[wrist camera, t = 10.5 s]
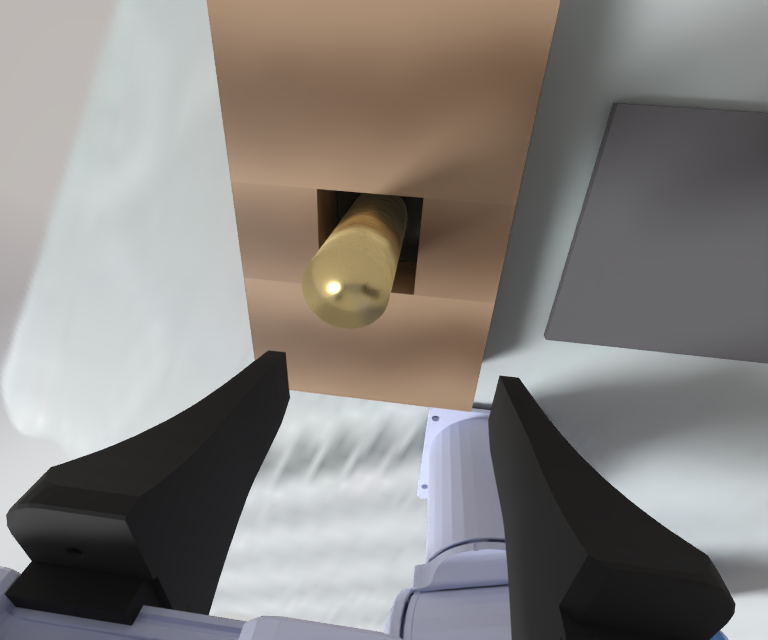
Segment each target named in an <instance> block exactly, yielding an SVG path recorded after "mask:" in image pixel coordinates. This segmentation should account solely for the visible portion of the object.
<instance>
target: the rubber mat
mask: <svg viewBox="0 0 768 640" xmlns="http://www.w3.org/2000/svg"><path fill="white" fill-rule="evenodd" d="M544 336H545V339H546V340H554V341H564V342H573V343H582V344H592V345H601V346H610V347H619V348H629V349H638V350H647V351H657V352H666V353H675V354H685V355H694V356H703V357H713V358H722V359H731V360H740V361H750V362H759V363H768V113H761V112H746V111H730V110H714V109H698V108H682V107H667V106H651V105H635V104H619V103H613V107H612V110H611V113H610V117H609V120H608V123H607V127H606V130H605V133H604V137H603V140H602V143H601V147H600V150H599V153H598V157H597V160H596V163H595V167H594V170H593V173H592V177H591V180H590V183H589V187H588V190H587V193H586V197H585V200H584V203H583V207H582V210H581V213H580V217H579V220H578V223H577V227H576V230H575V233H574V237H573V240H572V243H571V247H570V250H569V253H568V257H567V260H566V263H565V266H564V270H563V273H562V276H561V280H560V283H559V286H558V290H557V293H556V296H555V300H554V303H553V306H552V310H551V313H550V316H549V320H548V323H547V326H546V330H545V333H544Z"/></svg>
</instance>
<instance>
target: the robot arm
mask: <svg viewBox="0 0 768 640" xmlns="http://www.w3.org/2000/svg"><path fill="white" fill-rule="evenodd" d="M289 399H290V393H289V383H288V372H287V361H286V352H279V351H270V350H268V351H267V352H265V353H264V354H263V355H261V356H260V357H259V358H258V359H256V360H255V361H254V362H253V363H251V364H250V365H249V366H247V367H246V368H245V369H244V370H242V371H241V372H240V373H239V374H237V375H236V376H235V377H233V378H232V379H231V380H229V381H228V382H227V383H225V384H224V385H223V386H221V387H220V388H218V389H217V390H215V391H214V392H212V393H211V394H210V395H208V396H207V397H205V398H204V399H202V400H201V401H199V402H198V403H196V404H195V405H193V406H191V407H190V408H188V409H186V410H185V411H183V412H181V413H179V414H178V415H176V416H174V417H172V418H170V419H169V420H167V421H165V422H163V423H161V424H159V425H157V426H155V427H153V428H151V429H149V430H147V431H144V432H142V433H140V434H138V435H136V436H134V437H132V438H129V439H127V440H125V441H122V442H120V443H118V444H115V445H113V446H110V447H108V448H105V449H103V450H100V451H97V452H95V453H92V454H89V455H86V456H83V457H80V458H77V459H75V460H72V461H69V462H66V463H63V464H60V465H57V466H53V467H51V468H50V469H49V470H48V471H47V472H46V473H45V474H44V475H43V476H42V477H41V478H40V479H39V480H38V481H37V482H36V483H35V484H34V485H33V486H32V487H31V488H30V489H29V490H28V491H27V492H26V493H25V494H24V495H23V496H22V497H21V498H20V499H19V500H18V501H17V502H16V503H15V504H14V505H13V506H12V507H11V508H10V510H9V511H8V513H7V515H6V517H7V526H8V528H9V530H10V532H11V534H12V535H13V536H14V538H15V539H16V540H17V542H18V543H19V544H20V545H21V547H22V548H23V550H24V551H25V552H26V554H27V555H28V557H29V558H30V559H31V560H32V562H31V563H30V564H29V565H28V567H27V568H26V569H25V570H24V571H23V572H22V574H20V573H19V572H17V571H15V570H13V569H10V568H6V567H0V640H710V639H711V638H712V637H713V636H714V635H715V634H716V633H717V632H719V631H720V630H721V629H722V628H723V627H724V626H725V625H726V624H727V623H728V622H729V620H730V619H731V618H732V616H733V614H734V612H735V602H734V600H733V598H732V596H731V594H730V593H729V591H728V589H727V587H726V585H725V583H724V581H723V580H722V578H721V576H720V574H719V572H718V571H717V569H716V568H715V566H714V564H713V563H712V561H711V560H710V558H709V557H708V555H706V554H705V553H703V552H702V551H700V550H699V549H697V548H696V547H694V546H693V545H691V544H690V543H688V542H687V541H685V540H683V539H682V538H680V537H679V536H677V535H676V534H674V533H673V532H671V531H670V530H668V529H667V528H666V527H664V526H663V525H661V524H660V523H659V522H657V521H656V520H655V519H653V518H652V517H651V516H649V515H648V514H647V513H645V512H644V511H643V510H641V509H640V508H639V507H637V506H636V505H635V504H634V503H632V502H631V501H630V500H629V499H627V498H626V497H625V496H624V495H623V494H621V493H620V492H619V491H618V490H617V489H616V488H614V487H613V486H612V485H611V484H610V483H609V482H607V481H606V480H605V479H604V478H603V477H602V476H601V475H600V474H599V473H598V472H597V471H596V470H595V469H594V468H593V467H592V466H590V465H589V464H588V463H587V462H586V461H585V460H584V459H583V458H582V457H581V456H580V455H579V454H578V452H577V451H576V450H575V449H574V448H573V447H572V446H571V445H570V444H569V443H568V441H567V440H566V439H565V438H564V437H563V436H562V435H561V433H560V432H559V431H558V430H557V429H556V427H555V426H554V425H553V423H552V422H551V420H550V419H549V418H548V417H547V416H546V415H545V413H544V412H543V411H542V409H541V408H540V407H539V405H538V404H537V403H536V401H535V400H534V398H533V397H532V396H531V394H530V393H529V391H528V390H527V389H526V387H525V386H524V384H523V383H522V382H521V380H520V379H519V378H516V377H507V376H499V380H498V384H497V388H496V392H495V396H494V400H493V404H492V408H491V410H484V409H476V408H472V410H471V412H466V411H458V410H450V409H441V408H433V407H430V408H429V413H428V420H427V427H426V434H425V440H424V447H423V454H422V461H421V468H420V475H419V481H418V488H417V496H418V497H419V498H422V499H428V506H427V538H426V563H425V564H422V565H416V566H415V567H414V585H413V588H406V589H404V590H402V591H401V592H400V593H399V594H398V596H397V598H396V600H395V602H394V604H393V606H392V608H391V610H390V612H389V614H388V617H387V620H386V624H385V629H384V633H382V632H377V631H371V630H365V629H358V628H352V627H345V626H339V625H332V624H326V623H320V622H313V621H307V620H300V619H294V618H288V617H280V616H261V617H258V618H255V619H253V620H250V621H248V622H247V621H240V620H234V619H228V618H222V617H215V616H209V612H210V609H211V605H212V602H213V598H214V595H215V592H216V588H217V585H218V582H219V578H220V575H221V572H222V569H223V566H224V563H225V560H226V556H227V553H228V550H229V547H230V544H231V541H232V538H233V536H234V533H235V530H236V527H237V524H238V521H239V518H240V515H241V513H242V510H243V507H244V504H245V502H246V499H247V496H248V493H249V491H250V489H251V486H252V484H253V482H254V479H255V477H256V475H257V473H258V471H259V469H260V467H261V465H262V463H263V461H264V459H265V457H266V455H267V453H268V451H269V449H270V446H271V444H272V442H273V440H274V438H275V436H276V434H277V432H278V430H279V428H280V425H281V423H282V420H283V417H284V414H285V411H286V408H287V405H288V402H289ZM433 416H438V417H433Z"/></svg>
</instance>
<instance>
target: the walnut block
mask: <svg viewBox="0 0 768 640" xmlns="http://www.w3.org/2000/svg"><path fill="white" fill-rule="evenodd" d="M560 1H561V0H207V6H208V14H209V21H210V29H211V36H212V44H213V51H214V59H215V66H216V73H217V81H218V88H219V96H220V103H221V111H222V118H223V126H224V133H225V141H226V148H227V156H228V163H229V171H230V178H231V186H232V193H233V201H234V208H235V216H236V223H237V230H238V238H239V245H240V253H241V260H242V268H243V275H244V283H245V290H246V298H247V305H248V313H249V320H250V328H251V335H252V343H253V350H254V358H255V360H256V359H258V358H259V357H260V356H261V355H263V354H264V353H265V352H267V351H268V350H270V351H279V352H286V361H287V372H288V383H289V390H294V391H302V392H311V393H319V394H327V395H335V396H343V397H352V398H360V399H368V400H376V401H384V402H392V403H401V404H409V405H417V406H425V407H433V408H441V409H450V410H458V411H466V412H471V410H472V406H473V401H474V397H475V392H476V387H477V383H478V378H479V374H480V369H481V364H482V360H483V355H484V351H485V346H486V341H487V337H488V332H489V328H490V323H491V318H492V314H493V309H494V305H495V300H496V295H497V291H498V286H499V282H500V277H501V272H502V268H503V263H504V259H505V254H506V249H507V245H508V240H509V236H510V231H511V226H512V222H513V217H514V213H515V208H516V203H517V199H518V194H519V190H520V185H521V180H522V176H523V171H524V167H525V162H526V157H527V153H528V148H529V144H530V139H531V134H532V130H533V125H534V121H535V116H536V111H537V107H538V102H539V97H540V93H541V88H542V84H543V79H544V74H545V70H546V65H547V61H548V56H549V51H550V47H551V42H552V38H553V33H554V28H555V24H556V19H557V15H558V10H559V5H560ZM338 191H348V192H360V193H372V194H384V195H396V196H408V197H420V198H424V199H423V209H422V219H421V229H420V238H419V248H418V258H417V263H416V262H406V261H398V264H397V269H396V273H395V277H394V281H393V286H392V290H391V294H390V298H389V302H388V305H387V308H386V310H385V311H384V313H383V314H382V315H381V317H380V318H379V319H377V320H376V321H375V322H373V323H372V324H370V325H368V326H365V327H362V328H357V329H345V328H339V327H335V326H333V325H330V324H328V323H326V322H325V321H323V320H322V319H320V318H319V317H318V316H317V315H316V314H315V313H314V312H313V311H312V310H311V309H310V307H309V306H308V304H307V302H306V300H305V297H304V294H303V289H302V280H303V275H304V272H305V270H306V268H307V266H308V264H309V263H310V262H311V260H312V259H313V258H314V256H315V255H316V253H317V252H318V251H319V249H320V248H321V247H322V245H323V244H324V243H325V241H326V240H327V238H328V237H329V236H330V234H331V233H332V232H333V230H334V229H335V228H336V226H337V225H338Z"/></svg>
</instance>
